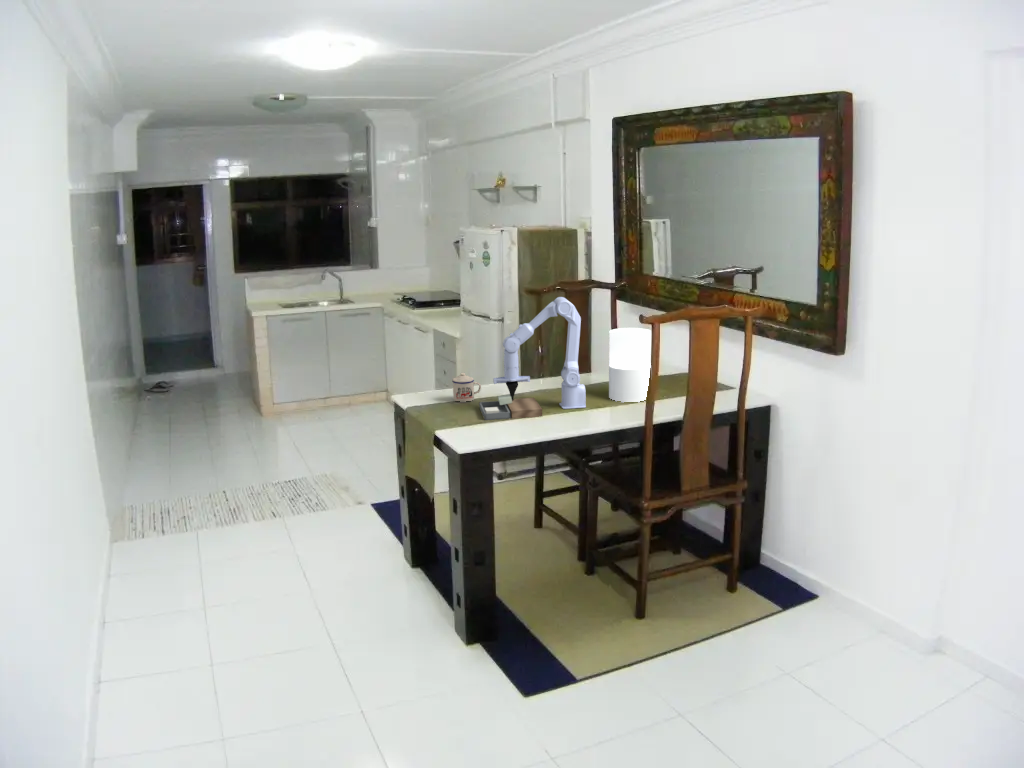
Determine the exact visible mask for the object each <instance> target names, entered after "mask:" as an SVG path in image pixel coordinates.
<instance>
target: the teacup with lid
mask: <svg viewBox="0 0 1024 768" xmlns="http://www.w3.org/2000/svg"><path fill="white" fill-rule="evenodd" d="M474 385H478V386H479V387H478V390H477V391H475V389H474ZM452 389H453V390H452V394H453V396H452V397H453V401H454V400H455V401H460V402H459V403H467V402H466V401H471V402H473V401H474V400H475V395H477V394H479V393H480V391H481V390H482V384H480V382H477V381H475V379H474V377H472V376H469V375H466V373H465V372H461V373H460V374H459V375H457V376H456V377H453V378H452ZM472 400H473V401H472ZM455 401H454V402H455Z"/></svg>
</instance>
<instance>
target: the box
mask: <svg viewBox="0 0 1024 768" xmlns="http://www.w3.org/2000/svg"><path fill="white" fill-rule="evenodd" d="M478 404H479V407H478V408H479V410H480V413H481V412H482V413H481V415H482V417H483V419H484V421H492V420H493V421H495V419H497V420H509V419H510V420H511V419H512V418H511V416H510V411H509V409H508V407H507V406H506V404H504V405H500V404H499V401H498V400H495V401H493V400H491V401H479V402H478ZM489 407H497V408H498V409H499V413H486V412H485V408H489Z"/></svg>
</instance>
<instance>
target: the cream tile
mask: <svg viewBox="0 0 1024 768" xmlns="http://www.w3.org/2000/svg"><path fill="white" fill-rule="evenodd" d="M485 412H486V413H499V409H498V408H497V407H489V408H485Z"/></svg>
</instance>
